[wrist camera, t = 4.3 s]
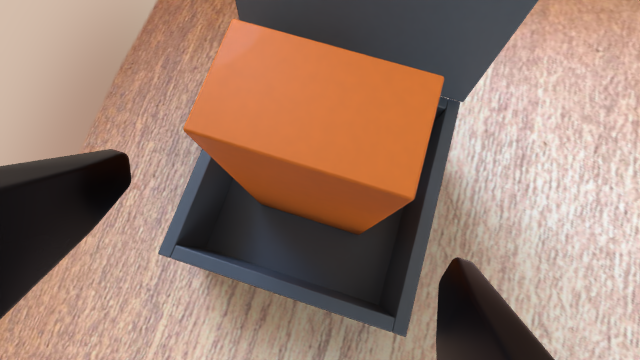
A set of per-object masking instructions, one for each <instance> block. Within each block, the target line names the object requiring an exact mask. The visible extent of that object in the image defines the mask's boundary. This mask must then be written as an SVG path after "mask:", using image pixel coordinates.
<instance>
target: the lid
mask: <svg viewBox="0 0 640 360" xmlns="http://www.w3.org/2000/svg"><path fill="white" fill-rule="evenodd" d="M537 2H538V0H236V5H237V10H238V15H239V20H241V21H245V22H248V23H252V24H255V25H259V26H263V27H266V28H270V29H274V30H277V31H281V32H285V33H288V34H292V35H295V36H299V37H303V38H306V39H310V40H314V41H317V42H321V43H325V44H328V45H332V46H335V47H339V48H343V49H346V50H350V51H354V52H357V53H361V54H365V55H368V56H372V57H375V58H379V59H383V60H386V61H390V62H394V63H397V64H401V65H405V66H408V67H412V68H415V69H419V70H423V71H426V72H430V73H434V74H437V75H441V76H443V77H444V82H443V86H442V90H441V94H440V96H442V97H446V98H449V99H453V100H457V101H460V102H463V101H464V100H465V99H466V97H467V96H468V95H469V93H470V92H471V91H472V89H473V88H474V87H475V85H476V84H477V83H478V81H479V80H480V79H481V77H482V76H483V75H484V73H485V72H486V70H487V69H488V68H489V66H490V65H491V64H492V62H493V61H494V60H495V58H496V57H497V56H498V54H499V53H500V52H501V50H502V49H503V48H504V46H505V45H506V43H507V42H508V41H509V39H510V38H511V37H512V35H513V34H514V33H515V31H516V30H517V29H518V27H519V26H520V25H521V23H522V22H523V21H524V19H525V18H526V16H527V15H528V14H529V12H530V11H531V10H532V8H533V7H534V6H535V4H536V3H537Z"/></svg>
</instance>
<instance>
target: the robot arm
mask: <svg viewBox="0 0 640 360" xmlns="http://www.w3.org/2000/svg"><path fill="white" fill-rule="evenodd" d="M130 183H131V172H130V163H129V157H128V156H127V154H125V153H123V152H120V151H116V150H113V149H109V150H102V151H96V152H89V153H83V154H77V155H70V156H64V157H58V158H51V159H44V160H38V161H32V162H26V163H18V164H12V165H6V166H0V319H1V318H2V317H3V316H4V315H5V314H6V313H7V312H8V311H10V310H11V309H12V308H13V307H14V306H15V305H16V304H17V303H18V302H19V301H20V300H21V299H22V298H23V297H24V296H25V295H26V294H27V293H28V292H29V291H30V290H31V289H32V288H33V287H34V286H35V285H36V284H37V283H38V282H39V281H40V280H41V279H42V278H43V277H45V276H46V275H47V274H48V273H49V272H50V271H51V270H52V269H53V268H54V267H55V266H56V265H57V264H58V263H59V262H60V261H61V260H62V259H63V258H64V257H65V256H66V255H67V254H68V253H69V252H70V251H71V250H72V249H73V248H74V247H75V246H76V245H77V244H78V243H80V242H81V241H82V240H83V239H84V238H85V237H86V236H87V235H88V234H89V233H90V232H91V231H92V230H93V229H94V227H95V226H96V225H97V224H98V223H99V222H100V221H101V219H102V218H103V217H104V216H105V215H106V213H107V212H108V211H109V210H110V209H111V208H112V206H113V205H114V204H115V203H116V202H117V200H118V199H119V198H120V197H121V196H122V194H123V193H124V192H125V191H126V190H127V189H128V187H129V185H130ZM436 352H437V360H554V358H553V357H552V356H551V355H550V354H549V353H548V351H547V350H546V349H545V348H544V347H543V345H542V344H541V343H540V342H539V341H538V339H537V338H536V337H535V336H534V335H533V334H532V332H531V331H530V330H529V329H528V328H527V326H526V325H525V324H524V323H523V322H522V320H521V319H520V318H519V317H518V316H517V315H516V313H515V312H514V311H513V310H512V309H511V307H510V306H509V305H508V304H507V303H506V301H505V300H504V299H503V298H502V297H501V296H500V294H499V293H498V292H497V291H496V290H495V288H494V287H493V286H492V285H491V284H490V282H489V281H488V280H487V279H486V278H485V277H484V275H483V274H482V273H481V272H480V271H479V269H478V268H477V267H476V266H475V265H474V264H473V263H472V262H471V261H468V260H464V259H461V258H458V257H457V258H454V259H453V260H452V261H451V263H450V265H449V266H448V268H447V269H446V271H445V273H444V274H443V276H442V278H441V280H440V283H439V290H438V311H437V331H436Z"/></svg>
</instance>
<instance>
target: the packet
mask: <svg viewBox="0 0 640 360" xmlns="http://www.w3.org/2000/svg"><path fill="white" fill-rule="evenodd" d="M443 82H444V77H443V76H441V75H437V74H434V73H430V72H426V71H423V70H419V69H415V68H412V67H408V66H405V65H401V64H397V63H394V62H390V61H386V60H383V59H379V58H375V57H372V56H368V55H365V54H361V53H357V52H354V51H350V50H346V49H343V48H339V47H335V46H332V45H328V44H325V43H321V42H317V41H314V40H310V39H306V38H303V37H299V36H295V35H292V34H288V33H285V32H281V31H277V30H274V29H270V28H266V27H263V26H259V25H255V24H252V23H248V22H245V21H241V20H237V19H232V20H231V23H230V25H229V27H228V29H227V32H226V34H225V36H224V38H223V41H222V43H221V45H220V47H219V49H218V52H217V54H216V56H215V58H214V61H213V63H212V65H211V67H210V70H209V72H208V74H207V76H206V79H205V81H204V83H203V85H202V88H201V90H200V92H199V94H198V97H197V99H196V101H195V103H194V106H193V108H192V110H191V112H190V114H189V117H188V119H187V121H186V123H185V126H184V131H185V132H186V133H187V134H188V135H189V136H190V137H191V138H192V139H193V140H194V141H195V142H196V143H197V144H198V145H199V146H200V147H201V148H202V149H203V150H204V151H206V152H207V153H208V154H209V155H210V156H211V157H212V158H213V159H214V160H215V161H216V162H217V163H218V164H219V165H220V166H221V167H222V168H223V169H224V170H225V171H227V172H228V173H229V174H230V175H231V176H232V177H233V178H234V179H235V180H236V181H237V182H238V183H239V184H240V185H241V186H242V187H243V188H244V189H245V190H246V191H247V192H249V193H250V194H251V195H252V196H253V197H254V198H255V199H256V200H257V201H258V202H259V203H260V204H262V205H265V206H268V207H271V208H275V209H278V210H281V211H284V212H287V213H290V214H294V215H297V216H300V217H303V218H306V219H309V220H313V221H316V222H319V223H322V224H325V225H328V226H331V227H335V228H338V229H341V230H344V231H347V232H350V233H354V234H357V235H360V234H361V233H363V232H364V231H366V230H368V229H369V228H371V227H372V226H374V225H375V224H377V223H378V222H380V221H382V220H383V219H385V218H386V217H388V216H389V215H391V214H393V213H394V212H396V211H397V210H399V209H400V208H402V207H403V206H405V205H407V204H408V203H410V202H411V201H413V200H414V198H415V195H416V191H417V187H418V183H419V179H420V175H421V171H422V167H423V163H424V159H425V155H426V151H427V146H428V142H429V138H430V134H431V130H432V126H433V122H434V118H435V114H436V110H437V106H438V102H439V98H440V94H441V90H442V86H443Z"/></svg>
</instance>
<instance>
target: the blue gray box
mask: <svg viewBox="0 0 640 360" xmlns="http://www.w3.org/2000/svg"><path fill="white" fill-rule="evenodd" d="M459 105H460V102H459V101H456V100H452V99H447V98H444V97H441V96H440V98H439V102H438V106H437V110H436V114H435V118H434V122H433V126H432V130H431V134H430V138H429V142H428V146H427V151H426V155H425V159H424V163H423V167H422V171H421V175H420V179H419V183H418V187H417V191H416V195H415V198H414V200H413V201H411V202H410V203H408V204H407V205H405V206H403V207H402V208H400V209H399V210H397V211H396V212H394V213H393V214H391V215H389V216H388V217H386V218H385V219H383V220H382V221H380V222H378V223H377V224H375V225H374V226H372V227H371V228H369V229H368V230H366V231H364V232H363V233H361V234H360V235H357V234H354V233H350V232H347V231H344V230H341V229H338V228H335V227H331V226H328V225H325V224H322V223H319V222H316V221H313V220H309V219H306V218H303V217H300V216H297V215H294V214H290V213H287V212H284V211H281V210H278V209H275V208H271V207H268V206H265V205H262V204H260V203H259V202H258V201H257V200H256V199H255V198H254V197H253V196H252V195H251V194H250V193H249V192H247V191H246V190H245V189H244V188H243V187H242V186H241V185H240V184H239V183H238V182H237V181H236V180H235V179H234V178H233V177H232V176H231V175H230V174H229V173H228V172H227V171H225V170H224V169H223V168H222V167H221V166H220V165H219V164H218V163H217V162H216V161H215V160H214V159H213V158H212V157H211V156H210V155H209V154H208V153H207V152H206V151H204V150H203V149H202V151H201V153H200V156H199V158H198V160H197V163H196V165H195V167H194V170H193V172H192V175H191V177H190V179H189V182H188V184H187V186H186V189H185V191H184V193H183V196H182V198H181V200H180V203H179V205H178V208H177V210H176V212H175V215H174V217H173V219H172V222H171V224H170V226H169V229H168V231H167V233H166V236H165V238H164V241H163V243H162V245H161V248H160V250H159V252H158V254H160V255H163V256H166V257H169V258H172V259H175V260H178V261H181V262H184V263H186V264H189V265H192V266H195V267H198V268H201V269H204V270H207V271H210V272H213V273H216V274H219V275H222V276H225V277H228V278H231V279H234V280H237V281H240V282H243V283H246V284H249V285H252V286H255V287H258V288H261V289H264V290H267V291H270V292H273V293H276V294H279V295H282V296H285V297H288V298H291V299H294V300H297V301H300V302H303V303H306V304H309V305H312V306H315V307H318V308H321V309H324V310H326V311H329V312H332V313H335V314H338V315H341V316H344V317H347V318H350V319H353V320H356V321H359V322H362V323H365V324H368V325H371V326H374V327H377V328H380V329H383V330H386V331H389V332H393V333H395V334H398V335H401V336H404V337H406V334H407V330H408V325H409V321H410V317H411V312H412V308H413V304H414V300H415V295H416V291H417V287H418V282H419V278H420V274H421V269H422V265H423V261H424V256H425V252H426V248H427V243H428V239H429V235H430V230H431V226H432V222H433V218H434V213H435V209H436V205H437V200H438V196H439V192H440V187H441V183H442V179H443V174H444V170H445V166H446V161H447V157H448V153H449V149H450V144H451V140H452V136H453V131H454V127H455V123H456V118H457V114H458V110H459Z"/></svg>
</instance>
